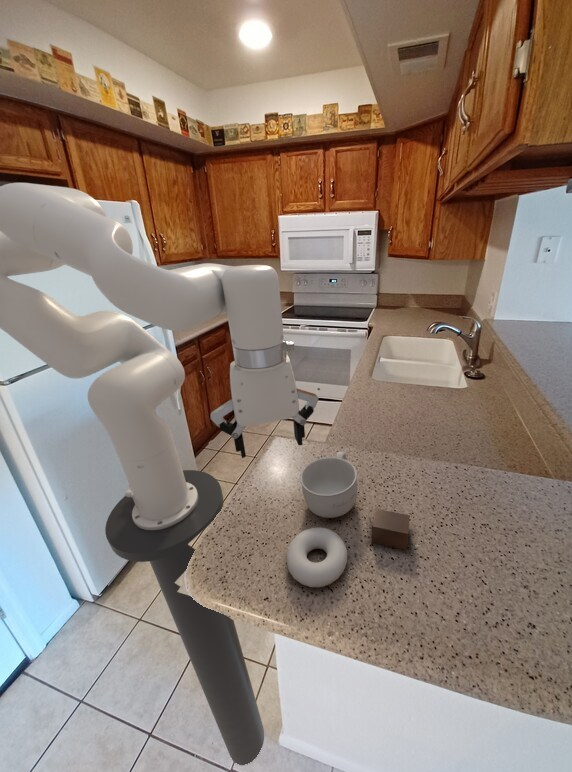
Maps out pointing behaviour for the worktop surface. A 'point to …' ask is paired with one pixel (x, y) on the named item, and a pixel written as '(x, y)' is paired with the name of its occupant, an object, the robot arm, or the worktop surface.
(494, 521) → the worktop surface
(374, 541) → the block
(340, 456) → the teacup
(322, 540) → the donut
